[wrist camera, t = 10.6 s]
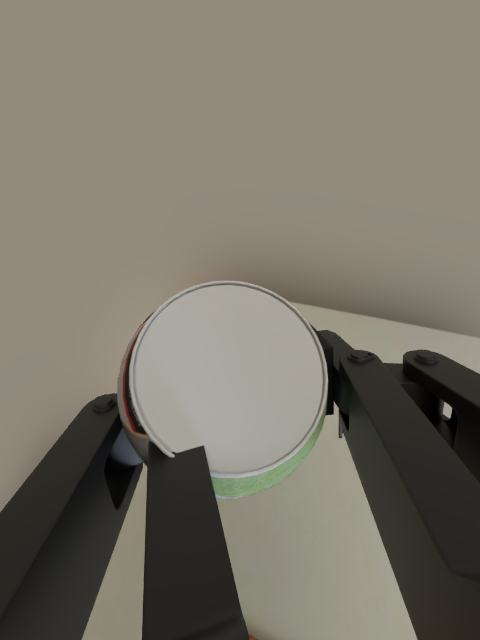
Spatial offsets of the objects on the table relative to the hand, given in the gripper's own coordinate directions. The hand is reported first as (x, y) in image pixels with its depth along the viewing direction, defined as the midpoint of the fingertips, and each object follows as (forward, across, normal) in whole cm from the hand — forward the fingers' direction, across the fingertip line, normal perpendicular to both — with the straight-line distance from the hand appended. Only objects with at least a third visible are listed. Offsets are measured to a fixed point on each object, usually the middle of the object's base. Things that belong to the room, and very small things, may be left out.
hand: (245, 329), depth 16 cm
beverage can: (0, -2, -6) cm, 6 cm away
